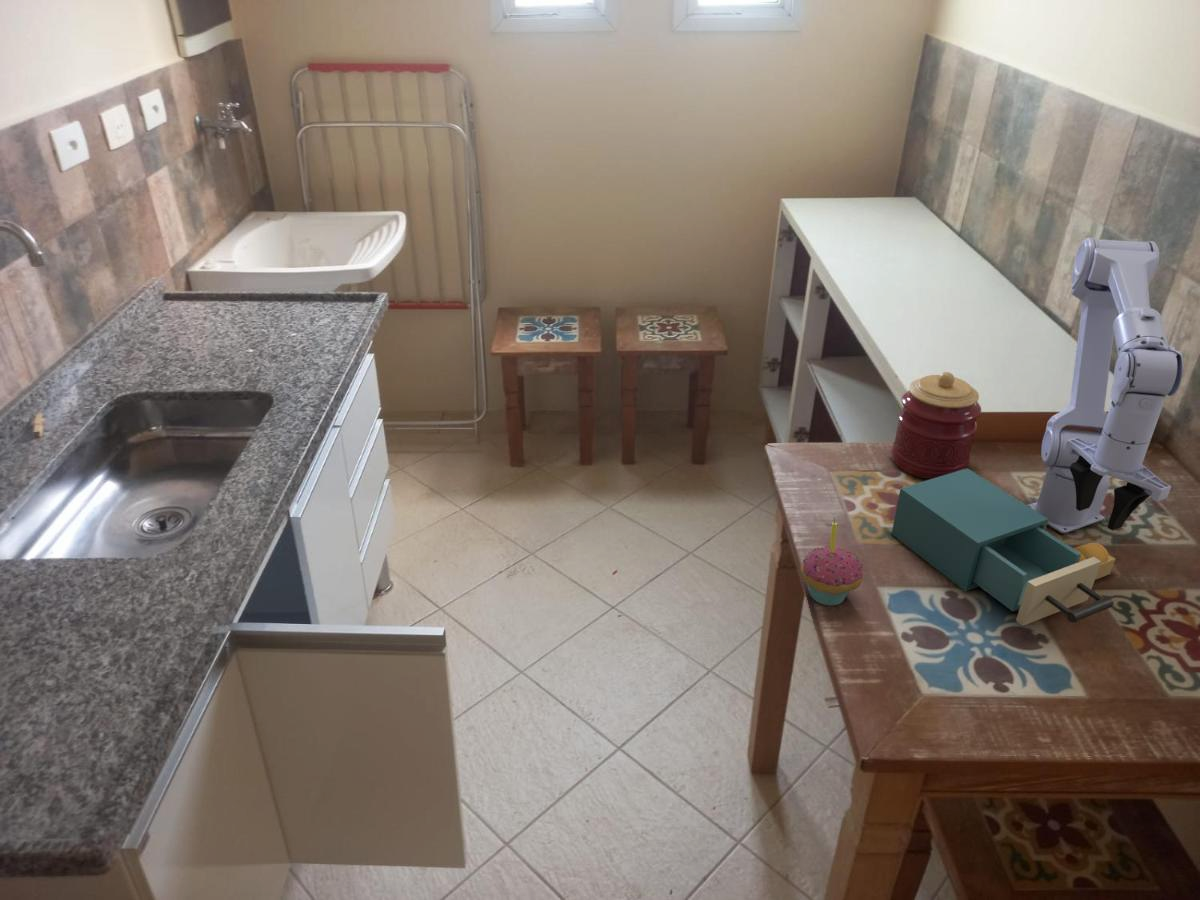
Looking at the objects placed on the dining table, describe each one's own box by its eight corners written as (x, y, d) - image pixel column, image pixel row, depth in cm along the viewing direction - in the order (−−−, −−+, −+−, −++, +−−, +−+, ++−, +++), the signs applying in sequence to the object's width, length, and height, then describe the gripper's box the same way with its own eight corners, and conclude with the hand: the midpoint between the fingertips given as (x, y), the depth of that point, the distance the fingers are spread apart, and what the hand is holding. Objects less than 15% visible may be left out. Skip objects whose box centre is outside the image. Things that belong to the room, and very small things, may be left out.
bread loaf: (1085, 558, 132) (1093, 534, 130) (1110, 574, 129) (1119, 549, 126) (1049, 572, 129) (1057, 547, 127) (1073, 588, 126) (1081, 563, 124)
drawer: (1118, 621, 118) (1133, 582, 115) (1052, 649, 114) (1066, 608, 111) (1006, 544, 134) (1016, 507, 130) (944, 566, 129) (953, 528, 126)
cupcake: (790, 578, 129) (799, 510, 122) (847, 574, 129) (859, 507, 123) (807, 617, 121) (818, 547, 115) (867, 613, 122) (881, 543, 116)
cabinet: (1034, 566, 130) (1048, 518, 126) (965, 591, 126) (978, 543, 121) (956, 513, 143) (967, 468, 138) (891, 534, 138) (900, 488, 133)
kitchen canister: (956, 489, 149) (978, 396, 140) (881, 468, 155) (897, 378, 146) (975, 456, 158) (996, 367, 149) (903, 437, 164) (919, 351, 155)
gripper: (1060, 417, 121) (1036, 498, 128) (1156, 466, 110) (1124, 552, 117) (1095, 406, 124) (1070, 487, 131) (1193, 453, 113) (1160, 539, 119)
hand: (1098, 517), depth 124 cm, fingers open, 5 cm apart
